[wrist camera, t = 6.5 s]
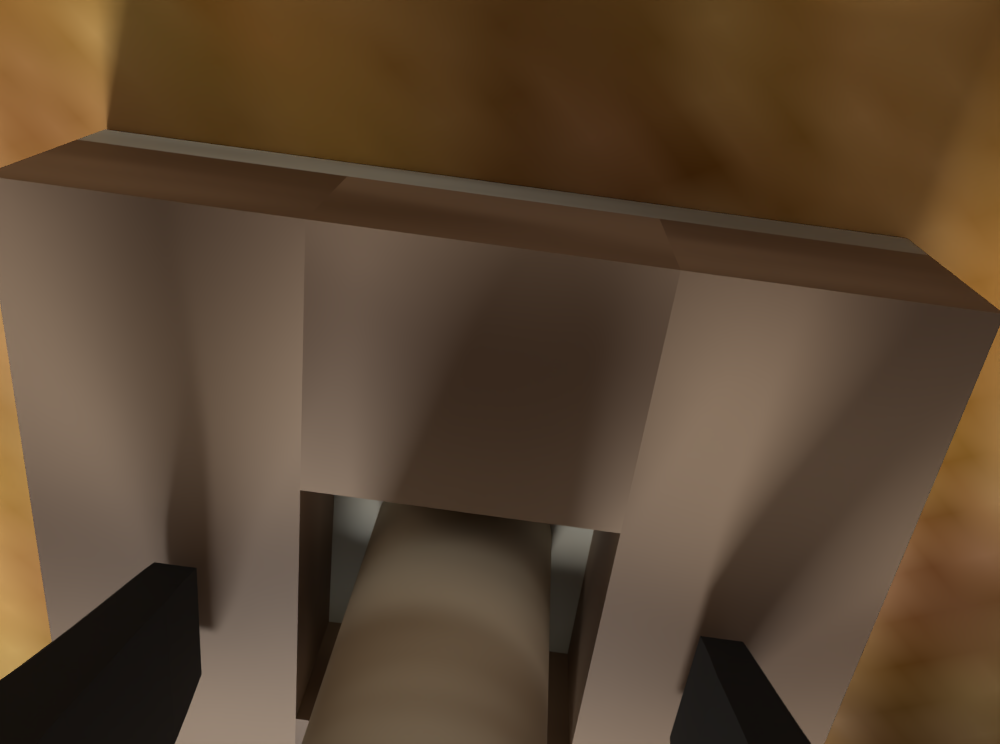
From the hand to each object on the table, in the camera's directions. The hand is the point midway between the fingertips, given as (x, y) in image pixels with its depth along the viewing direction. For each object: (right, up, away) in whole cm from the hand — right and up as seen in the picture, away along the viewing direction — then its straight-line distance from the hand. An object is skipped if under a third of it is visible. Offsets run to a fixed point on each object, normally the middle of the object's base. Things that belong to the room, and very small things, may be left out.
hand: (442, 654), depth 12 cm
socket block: (0, +2, +3) cm, 3 cm away
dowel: (0, +1, +2) cm, 3 cm away
